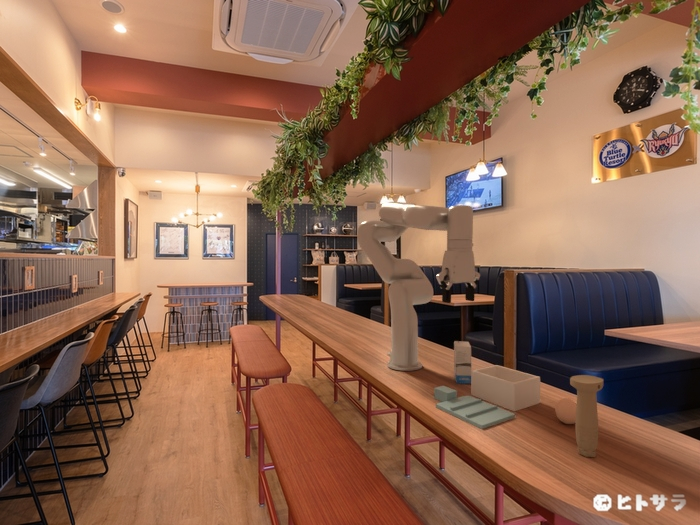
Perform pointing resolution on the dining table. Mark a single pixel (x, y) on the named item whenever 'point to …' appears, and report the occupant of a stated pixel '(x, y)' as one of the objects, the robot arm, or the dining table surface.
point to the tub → (505, 387)
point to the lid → (470, 408)
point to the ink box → (462, 362)
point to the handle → (586, 413)
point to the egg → (566, 411)
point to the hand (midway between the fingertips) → (458, 301)
